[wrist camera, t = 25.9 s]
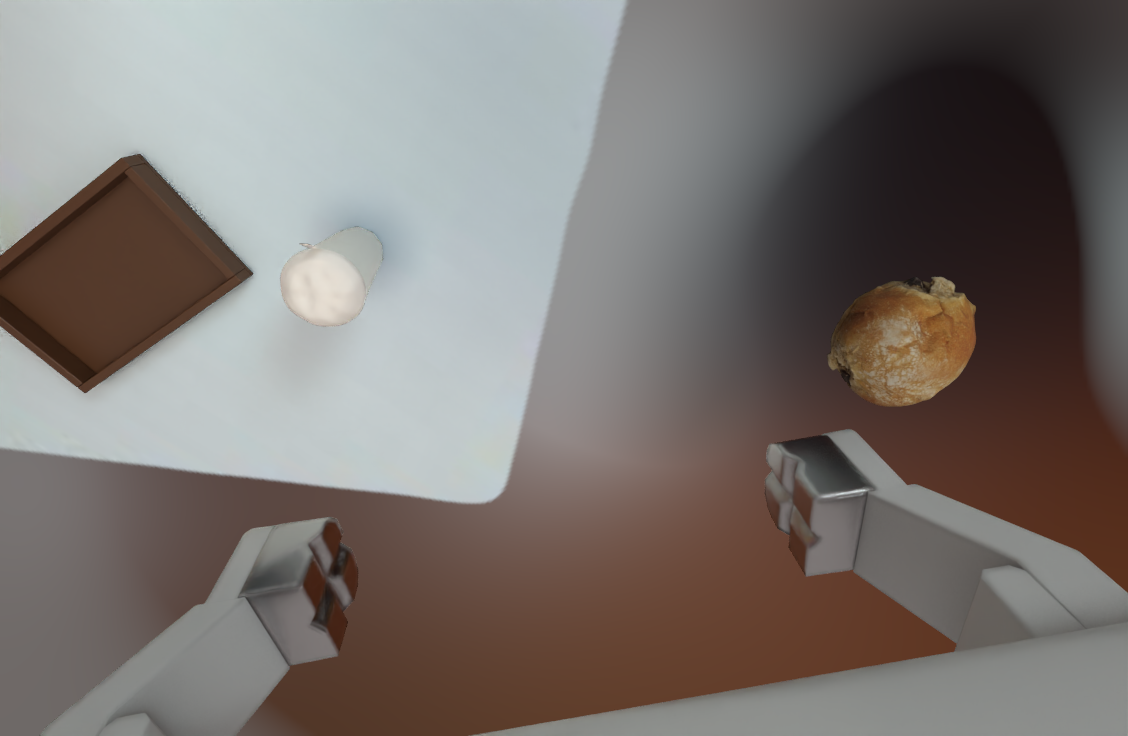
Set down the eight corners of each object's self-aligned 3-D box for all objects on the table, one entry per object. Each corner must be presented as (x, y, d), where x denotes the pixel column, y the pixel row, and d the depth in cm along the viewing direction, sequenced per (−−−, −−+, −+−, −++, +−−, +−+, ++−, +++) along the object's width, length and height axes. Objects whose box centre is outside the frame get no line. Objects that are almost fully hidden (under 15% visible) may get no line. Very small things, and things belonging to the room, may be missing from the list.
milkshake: (391, 206, 37) (351, 246, 28) (395, 283, 39) (359, 342, 30) (320, 201, 36) (256, 240, 27) (329, 279, 39) (273, 338, 30)
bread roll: (800, 301, 46) (806, 368, 41) (934, 236, 40) (963, 304, 34) (858, 373, 50) (871, 442, 45) (990, 324, 44) (1023, 398, 38)
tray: (-20, 282, 37) (-44, 291, 35) (139, 153, 34) (121, 157, 33) (101, 381, 41) (84, 393, 39) (253, 273, 38) (241, 282, 37)
